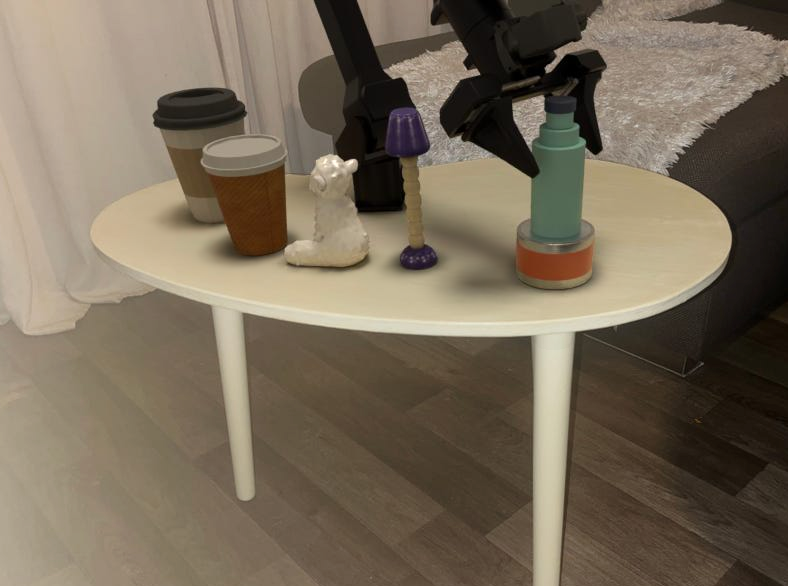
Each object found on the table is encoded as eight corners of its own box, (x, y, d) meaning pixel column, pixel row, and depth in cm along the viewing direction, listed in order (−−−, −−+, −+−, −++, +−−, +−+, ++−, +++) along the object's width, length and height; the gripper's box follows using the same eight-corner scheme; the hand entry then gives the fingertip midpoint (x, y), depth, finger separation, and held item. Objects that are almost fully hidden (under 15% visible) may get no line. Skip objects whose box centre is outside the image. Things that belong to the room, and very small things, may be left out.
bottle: (520, 226, 79) (521, 98, 72) (559, 215, 81) (564, 89, 74) (551, 242, 75) (555, 109, 68) (591, 230, 77) (599, 99, 71)
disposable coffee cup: (220, 235, 94) (199, 138, 87) (298, 225, 95) (282, 129, 89) (220, 266, 86) (196, 162, 79) (304, 255, 87) (288, 152, 81)
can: (518, 290, 78) (518, 245, 75) (514, 257, 85) (514, 215, 82) (596, 288, 77) (600, 243, 75) (586, 255, 84) (589, 212, 81)
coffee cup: (261, 193, 106) (241, 81, 98) (267, 222, 97) (246, 101, 89) (177, 204, 104) (149, 91, 96) (175, 234, 94) (144, 112, 86)
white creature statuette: (341, 235, 92) (328, 136, 86) (394, 250, 88) (385, 147, 81) (282, 263, 86) (264, 159, 79) (336, 281, 81) (322, 172, 75)
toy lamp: (431, 272, 82) (422, 116, 73) (390, 270, 83) (376, 116, 74) (440, 254, 86) (433, 104, 77) (401, 252, 87) (389, 103, 78)
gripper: (454, -20, 63) (549, 137, 62) (598, -41, 73) (682, 94, 72) (402, 67, 72) (484, 205, 71) (536, 38, 82) (610, 158, 81)
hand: (569, 163), depth 74 cm, fingers open, 9 cm apart
